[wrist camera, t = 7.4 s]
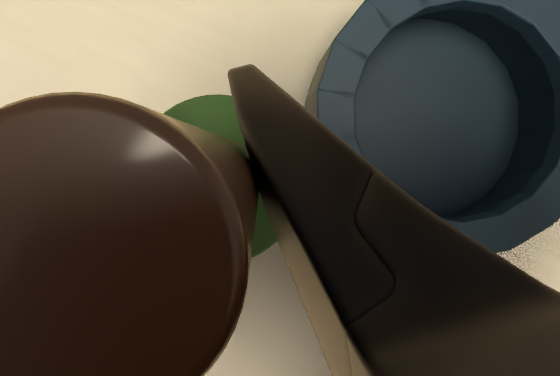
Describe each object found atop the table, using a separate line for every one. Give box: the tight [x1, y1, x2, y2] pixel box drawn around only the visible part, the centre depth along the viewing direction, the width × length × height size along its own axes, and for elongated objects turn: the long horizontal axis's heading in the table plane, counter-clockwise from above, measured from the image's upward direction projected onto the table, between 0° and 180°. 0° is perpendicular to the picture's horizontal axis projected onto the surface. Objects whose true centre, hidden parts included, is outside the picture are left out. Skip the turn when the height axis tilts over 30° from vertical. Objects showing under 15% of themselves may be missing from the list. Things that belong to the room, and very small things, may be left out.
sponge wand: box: [0, 92, 277, 376], centre depth 9 cm, size 4×4×12 cm
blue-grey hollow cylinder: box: [305, 0, 560, 253], centre depth 19 cm, size 9×9×6 cm
